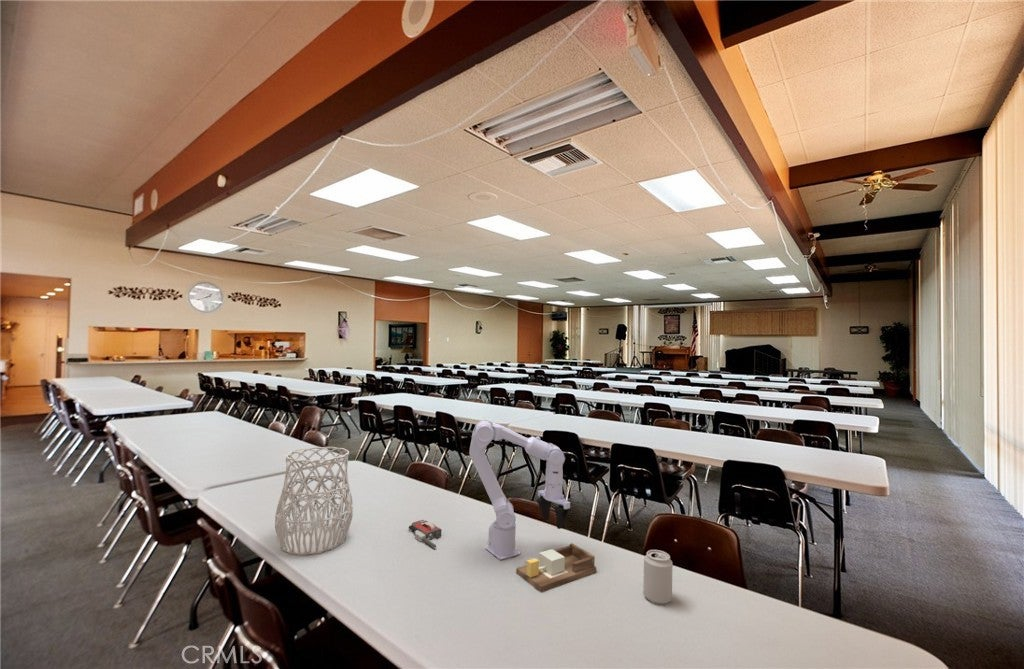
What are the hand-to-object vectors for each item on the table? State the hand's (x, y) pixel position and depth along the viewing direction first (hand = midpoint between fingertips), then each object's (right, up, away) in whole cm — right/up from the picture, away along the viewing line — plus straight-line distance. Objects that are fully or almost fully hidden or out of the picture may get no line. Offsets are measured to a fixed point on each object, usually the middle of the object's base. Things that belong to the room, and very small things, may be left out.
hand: (552, 524), depth 145 cm
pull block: (-4, -7, -16) cm, 18 cm away
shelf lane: (-1, -9, -14) cm, 17 cm away
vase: (-81, -7, +3) cm, 82 cm away
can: (+26, -9, -26) cm, 38 cm away
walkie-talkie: (-44, -9, +9) cm, 45 cm away
